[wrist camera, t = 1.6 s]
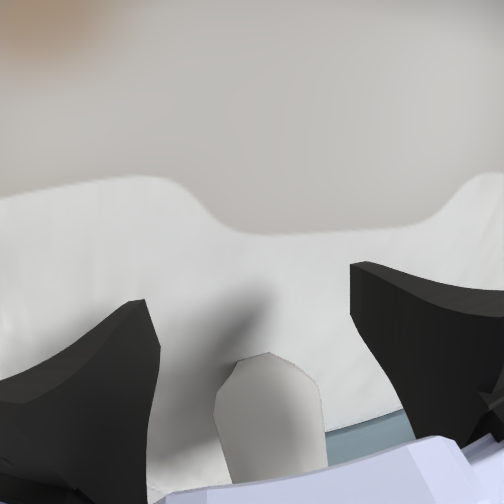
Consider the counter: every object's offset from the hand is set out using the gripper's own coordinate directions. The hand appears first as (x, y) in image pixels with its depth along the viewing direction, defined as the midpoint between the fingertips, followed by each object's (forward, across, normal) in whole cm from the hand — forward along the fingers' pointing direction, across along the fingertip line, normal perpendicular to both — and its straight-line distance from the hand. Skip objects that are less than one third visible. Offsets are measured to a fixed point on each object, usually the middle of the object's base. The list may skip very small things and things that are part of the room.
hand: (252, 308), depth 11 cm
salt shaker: (+5, 0, +8) cm, 9 cm away
